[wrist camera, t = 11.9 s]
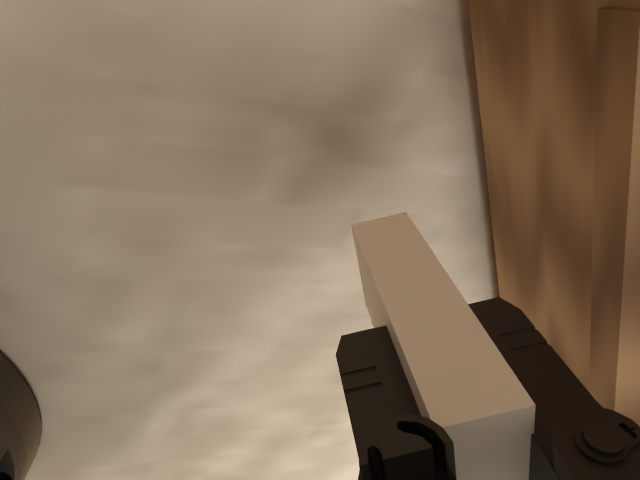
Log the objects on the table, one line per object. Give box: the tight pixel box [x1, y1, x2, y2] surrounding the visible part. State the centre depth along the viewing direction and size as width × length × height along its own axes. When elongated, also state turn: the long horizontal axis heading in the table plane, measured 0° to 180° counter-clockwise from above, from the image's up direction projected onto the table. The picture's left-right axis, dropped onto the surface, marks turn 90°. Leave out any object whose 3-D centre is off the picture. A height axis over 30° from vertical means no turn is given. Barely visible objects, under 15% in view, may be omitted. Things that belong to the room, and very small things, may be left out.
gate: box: [468, 0, 640, 426], centre depth 16 cm, size 15×2×8 cm, turn 16°
